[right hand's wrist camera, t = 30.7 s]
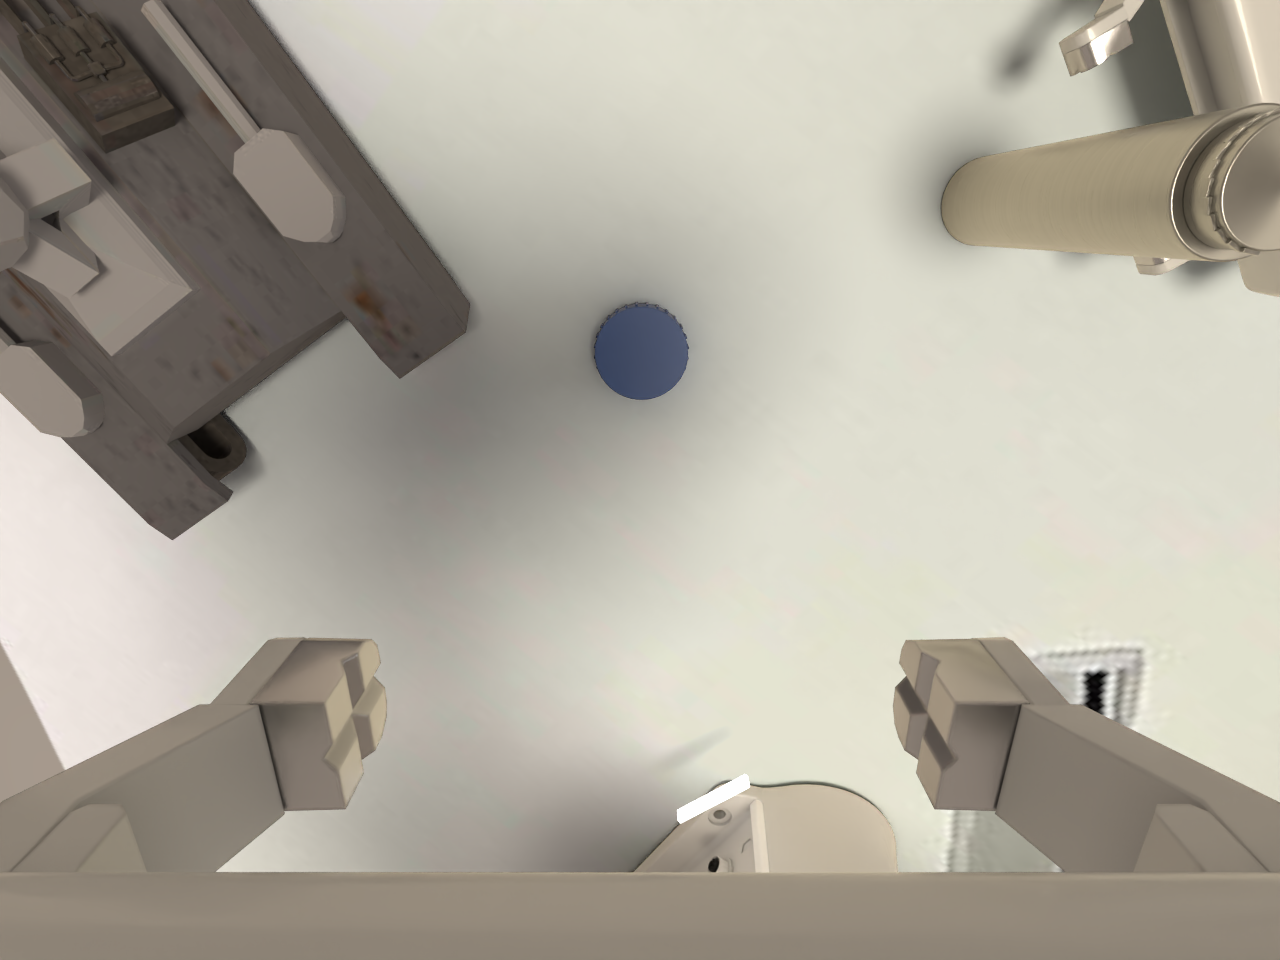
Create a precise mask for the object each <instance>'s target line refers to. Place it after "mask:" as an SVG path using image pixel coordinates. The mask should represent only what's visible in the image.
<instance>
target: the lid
mask: <svg viewBox="0 0 1280 960" xmlns="http://www.w3.org/2000/svg"><path fill="white" fill-rule="evenodd" d="M600 328H601V330H600V333H598V334H597V336H596V338H597V341H596V343H595V345H594V348H595V356H594V359H595V360H596V365H597V369H598V371H599V373H600V375H601V378H602V379H603V380H604V381H605V383H606V384H607V385H608V386H609V387H610V388H611V389H612V390H614V391H615V392H617V393H618V394H620V395H622V396H625V397H628V398H631V399H638V400H645V399H651V398H655V397H658V396H661V395H663V394H665V393H666V392H668V391H669V390H670V389H672V388H673V387H674V386H675V385H676V384H677V382H678V381H679V380H680V379H681V377H682V375H683V373H684V371H685V369H686V364H687V360H688V349H689V347H688V344H687V342H686V339H687V337H686V334H684V333H683V330H682V329H683V328H682V325H681V324H680V325H679V323H678V322H677V320H676V317H675V316H672V315H671V314H670V313H669V312H668V310H667V309H666V310H664V309H662V308H660V307H659V306H658V305H656V306H655V305H652V304H648V302H646V304H645V303H638V302H636V304H631V305H627V304H626V305H625V307H623V308H621V309H619V310H618V309H616V311H615V312H614V313H613V314H612V315H611V316H610V315H609V316H608V317H607V320H606V321H605V323H604V324H603V323H602V325H601V327H600Z"/></svg>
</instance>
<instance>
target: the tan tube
mask: <svg viewBox="0 0 1280 960" xmlns="http://www.w3.org/2000/svg"><path fill="white" fill-rule="evenodd" d="M941 211H942V218H943V222H944V224H945V227H946V228H947V230H948V232H949V233H950V234H951V235H952V236H953V237H954V238H955V239H956V240H958V241H960V242H962V243H964V244H967V245H974V246H988V247H1003V248H1019V249H1034V250H1049V251H1064V252H1079V253H1094V254H1109V255H1124V256H1139V257H1154V258H1169V259H1184V260H1199V261H1214V262H1228V261H1236V260H1240V259H1243V258H1247V257H1249V256H1252V255H1256V256H1258V255H1259V253H1260V252H1261V251H1277V250H1280V104H1278V103H1257V104H1251V105H1246V106H1241V107H1235V108H1230V109H1225V110H1220V111H1215V112H1210V113H1205V114H1200V115H1194V116H1189V117H1184V118H1179V119H1174V120H1169V121H1164V122H1158V123H1153V124H1148V125H1143V126H1138V127H1133V128H1128V129H1123V130H1117V131H1112V132H1107V133H1102V134H1097V135H1092V136H1087V137H1082V138H1076V139H1071V140H1066V141H1061V142H1056V143H1051V144H1046V145H1040V146H1035V147H1030V148H1025V149H1020V150H1015V151H1010V152H1005V153H999V154H994V155H989V156H984V157H980V158H977V159H974V160H972V161H970V162H968V163H967V164H965V165H964V166H963V167H961V168H960V169H959V170H958V171H957V172H956V173H955V174H954V176H953V177H952V178H951V180H950V181H949V183H948V185H947V187H946V189H945V192H944V195H943V199H942V209H941Z"/></svg>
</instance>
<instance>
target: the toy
mask: <svg viewBox="0 0 1280 960" xmlns="http://www.w3.org/2000/svg"><path fill="white" fill-rule="evenodd" d="M469 308H470V303H469V302H468V301H467V299H466V298H465V297H464V295H463V294H462V292H461V291H460V290H459V288H458V287H457V286H456V284H455V282H454V281H453V279H452V278H451V276H450V275H449V274H448V272H447V271H446V270H445V268H444V267H443V266H442V264H441V263H440V261H439V260H438V259H437V257H436V256H435V255H434V253H433V252H432V251H431V249H430V248H429V247H428V245H427V244H426V242H425V241H424V240H423V238H422V237H421V236H420V234H419V233H418V232H417V230H416V229H415V228H414V226H413V225H412V223H411V222H410V221H409V219H408V218H407V217H406V215H405V214H404V213H403V211H402V210H401V209H400V207H399V206H398V204H397V203H396V202H395V200H394V199H393V198H392V196H391V195H390V194H389V192H388V191H387V190H386V188H385V187H384V186H383V184H382V183H381V181H380V180H379V179H378V177H377V176H376V175H375V173H374V172H373V171H372V169H371V168H370V167H369V165H368V164H367V162H366V161H365V160H364V158H363V157H362V156H361V154H360V153H359V152H358V150H357V149H356V148H355V146H354V145H353V143H352V142H351V141H350V139H349V138H348V137H347V135H346V134H345V133H344V131H343V130H342V129H341V127H340V126H339V124H338V123H337V122H336V120H335V119H334V118H333V116H332V115H331V114H330V112H329V111H328V110H327V108H326V107H325V105H324V104H323V103H322V101H321V100H320V99H319V97H318V96H317V95H316V93H315V92H314V91H313V89H312V88H311V86H310V85H309V84H308V82H307V81H306V80H305V78H304V77H303V76H302V74H301V73H300V72H299V70H298V69H297V68H296V66H295V65H294V63H293V62H292V61H291V59H290V58H289V57H288V55H287V54H286V53H285V51H284V50H283V49H282V47H281V46H280V44H279V43H278V42H277V40H276V39H275V38H274V36H273V35H272V34H271V32H270V31H269V30H268V28H267V27H266V25H265V24H264V23H263V21H262V20H261V19H260V17H259V16H258V15H257V13H256V12H255V11H254V9H253V8H252V6H251V5H250V4H249V2H248V1H247V0H0V393H1V394H2V395H3V396H4V397H5V398H6V399H7V400H8V401H9V402H10V403H11V404H12V405H13V406H14V407H15V408H16V409H17V410H18V411H19V412H20V413H21V414H23V415H24V416H25V417H26V418H27V419H28V420H29V421H30V422H31V423H32V424H33V425H34V426H35V427H36V428H37V429H38V430H39V431H40V432H42V433H46V434H50V435H54V436H58V437H61V438H62V439H63V440H64V441H65V442H66V443H67V444H68V445H69V446H70V447H71V448H72V449H73V450H74V451H75V452H76V453H77V454H78V455H79V456H80V457H81V458H82V459H83V460H84V461H85V462H86V463H87V464H88V465H89V466H90V467H91V468H92V469H93V470H94V471H95V472H96V473H97V474H98V475H99V476H100V477H101V478H102V479H103V480H104V481H105V482H106V483H107V484H108V485H110V486H111V487H112V488H113V489H114V490H115V491H116V492H117V493H118V494H119V495H120V496H121V497H122V498H123V499H124V500H125V501H126V502H127V503H128V504H129V505H130V506H131V507H132V508H133V509H134V510H135V511H136V512H137V513H138V514H139V515H140V516H141V517H142V518H143V519H144V520H145V521H146V522H147V523H148V524H149V525H151V526H152V527H154V528H155V529H156V530H158V531H159V532H161V533H162V534H164V535H165V536H167V537H168V538H170V539H171V540H174V539H175V538H176V537H178V536H179V535H181V534H182V533H183V532H185V531H186V530H188V529H189V528H190V527H192V526H193V525H195V524H196V523H198V522H199V521H200V520H202V519H203V518H205V517H206V516H207V515H209V514H210V513H212V512H213V511H215V510H216V509H217V508H219V507H220V506H222V505H223V504H224V503H226V502H227V501H228V500H229V498H230V497H231V495H232V493H233V491H231V490H230V489H229V488H227V487H226V486H225V485H223V484H222V483H221V482H219V480H221V479H222V478H223V477H225V476H226V475H228V474H229V473H230V472H232V471H233V470H234V469H236V468H237V467H238V466H239V465H240V464H242V463H243V461H244V459H245V457H246V446H245V443H244V440H243V439H242V437H241V436H240V435H239V433H238V432H237V431H236V430H235V429H234V428H233V427H232V426H231V425H230V424H229V423H228V421H227V420H226V419H225V418H224V417H223V416H222V415H221V414H220V412H221V411H223V410H224V409H225V408H227V407H228V406H229V405H231V404H232V403H233V402H235V401H236V400H237V399H239V398H240V397H241V396H243V395H244V394H245V393H247V392H248V391H249V390H250V389H252V388H253V387H254V386H256V385H257V384H258V383H260V382H261V381H262V380H264V379H265V378H266V377H268V376H269V375H270V374H272V373H273V372H274V371H276V370H277V369H278V368H279V367H281V366H282V365H283V364H285V363H286V362H287V361H289V360H290V359H291V358H293V357H294V356H295V355H297V354H298V353H299V352H301V351H302V350H303V349H305V348H306V347H307V346H309V345H310V344H311V343H312V342H314V341H315V340H316V339H318V338H319V337H320V336H322V335H323V334H324V333H326V332H327V331H328V330H330V329H331V328H332V327H334V326H335V325H336V324H338V323H339V322H340V321H341V320H343V319H344V318H345V317H347V318H348V320H349V321H350V322H351V323H352V325H353V326H354V327H355V328H356V330H357V331H358V332H359V333H360V335H361V336H362V337H363V338H364V340H365V341H366V342H367V343H368V344H369V346H370V347H371V348H372V349H373V351H374V352H375V353H376V354H377V356H378V357H379V358H380V359H381V360H382V361H383V362H384V363H385V364H386V365H387V366H388V367H389V368H390V369H391V370H392V371H393V372H394V373H395V374H396V375H397V376H398V377H399V378H402V377H403V376H404V375H406V374H407V373H409V372H410V371H412V370H413V369H414V368H416V367H417V366H419V365H420V364H421V363H423V362H424V361H426V360H427V359H428V358H430V357H431V356H433V355H434V354H436V353H437V352H438V351H440V350H441V349H443V348H444V347H445V346H447V345H448V344H450V343H451V342H453V341H454V340H455V339H457V338H458V337H460V336H461V335H462V334H464V333H465V332H466V327H467V321H468V314H469Z"/></svg>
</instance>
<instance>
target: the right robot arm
mask: <svg viewBox="0 0 1280 960" xmlns="http://www.w3.org/2000/svg"><path fill="white" fill-rule="evenodd" d="M380 664H381V661H380V656H379V651H378V646H377V644H376V643H375V642H374V641H373V640H372V639H343V638H274V639H271V640H268V641H267V642H266V643H265V644H264V645H263V646H262V647H261V648H260V650H259V651H258V652H257V653H256V654H255V655H254V656H253V657H252V658H251V660H250V661H249V662H248V663H247V664H246V665H245V666H244V667H243V668H242V669H241V671H240V672H239V673H238V674H237V675H236V676H235V677H234V678H233V679H232V681H231V682H230V683H229V684H228V685H227V686H226V687H225V688H224V689H223V691H222V692H221V693H220V694H219V695H218V696H217V697H216V698H215V699H214V700H213V702H212V703H211V704H208V705H197V706H195V707H193V708H191V709H189V710H187V711H185V712H183V713H181V714H179V715H177V716H175V717H173V718H171V719H169V720H167V721H165V722H163V723H161V724H159V725H156V726H154V727H152V728H150V729H148V730H146V731H144V732H142V733H140V734H138V735H136V736H134V737H132V738H130V739H128V740H126V741H124V742H122V743H120V744H118V745H116V746H114V747H112V748H110V749H108V750H106V751H104V752H102V753H100V754H97V755H95V756H93V757H91V758H89V759H87V760H85V761H83V762H81V763H79V764H77V765H75V766H73V767H71V768H69V769H67V770H65V771H63V772H61V773H59V774H57V775H55V776H53V777H51V778H49V779H47V780H45V781H43V782H40V783H38V784H36V785H34V786H32V787H30V788H28V789H26V790H24V791H22V792H20V793H18V794H16V795H14V796H12V797H10V798H8V799H6V800H4V801H2V802H1V803H0V960H1280V803H1279V802H1278V801H1276V800H1274V799H1272V798H1270V797H1268V796H1265V795H1263V794H1261V793H1259V792H1257V791H1255V790H1253V789H1251V788H1249V787H1247V786H1245V785H1243V784H1241V783H1239V782H1237V781H1235V780H1233V779H1231V778H1229V777H1227V776H1225V775H1223V774H1221V773H1219V772H1217V771H1215V770H1213V769H1211V768H1209V767H1207V766H1205V765H1203V764H1201V763H1198V762H1196V761H1194V760H1192V759H1190V758H1188V757H1186V756H1184V755H1182V754H1180V753H1178V752H1176V751H1174V750H1172V749H1170V748H1168V747H1166V746H1164V745H1162V744H1160V743H1158V742H1156V741H1154V740H1152V739H1150V738H1148V737H1146V736H1144V735H1142V734H1140V733H1138V732H1136V731H1134V730H1132V729H1129V728H1127V727H1125V726H1123V725H1121V724H1119V723H1117V722H1115V721H1113V720H1111V719H1109V718H1107V717H1105V716H1103V715H1101V714H1099V713H1097V712H1095V711H1093V710H1091V709H1089V708H1087V707H1085V706H1083V705H1072V704H1069V703H1068V702H1067V700H1066V699H1065V698H1064V697H1063V696H1062V695H1061V694H1060V693H1059V692H1058V691H1057V689H1056V688H1055V687H1054V686H1053V685H1052V684H1051V683H1050V682H1049V681H1048V679H1047V678H1046V677H1045V676H1044V675H1043V674H1042V673H1041V672H1040V671H1039V669H1038V668H1037V667H1036V666H1035V665H1034V664H1033V663H1032V662H1031V661H1030V659H1029V658H1028V657H1027V656H1026V655H1025V654H1024V653H1023V652H1022V651H1021V650H1020V648H1019V647H1018V646H1017V645H1016V644H1015V643H1014V642H1013V641H1012V640H1010V639H1007V638H1005V637H995V638H972V639H935V640H906V641H905V643H904V645H903V647H902V650H901V655H900V661H899V664H900V665H901V667H902V669H903V670H904V672H905V674H906V677H905V678H904V679H903V680H902V681H901V682H900V683H899V684H898V685H897V686H896V687H895V693H894V701H893V712H894V723H895V727H896V730H897V734H898V737H899V740H900V742H901V744H902V746H903V748H904V750H905V751H906V752H908V753H909V754H911V755H912V756H914V757H915V758H916V759H918V765H917V771H916V774H917V776H918V778H919V780H920V782H921V784H922V786H923V788H924V789H925V791H926V793H927V795H928V797H929V799H930V801H931V803H932V805H933V807H934V809H945V810H981V811H996V812H995V814H996V815H997V816H999V817H1000V818H1001V819H1002V820H1003V821H1005V822H1006V823H1007V824H1008V825H1009V826H1011V827H1012V828H1013V829H1014V830H1015V831H1017V832H1018V833H1019V834H1020V835H1021V836H1023V837H1024V838H1025V839H1026V840H1027V841H1029V842H1030V843H1031V844H1032V845H1033V846H1035V847H1036V848H1037V849H1038V850H1039V851H1041V852H1042V853H1043V854H1044V855H1045V856H1047V857H1048V858H1049V859H1050V860H1051V861H1053V862H1054V863H1055V864H1056V865H1057V866H1059V867H1060V868H1061V869H1062V870H1063V871H1065V872H898V868H897V857H896V841H895V836H894V833H893V831H892V828H891V826H890V824H889V823H888V821H887V819H886V818H885V817H884V816H883V814H882V813H881V812H880V811H879V810H878V809H877V808H876V807H875V806H873V805H872V804H871V803H869V802H868V801H866V800H865V799H863V798H861V797H859V796H857V795H855V794H853V793H851V792H848V791H845V790H842V789H839V788H834V787H830V786H824V785H812V784H799V785H788V786H780V787H771V788H761V787H756V786H751V785H749V780H748V777H747V775H746V774H745V775H743V776H741V777H739V778H737V779H735V780H733V781H731V782H729V783H724V784H721V785H719V786H717V787H716V788H714V789H713V790H712V791H711V792H710V793H709V794H707V795H705V796H703V797H701V798H699V799H697V800H695V801H693V802H692V803H690V804H688V805H686V806H684V807H682V808H680V809H678V810H677V814H678V821H679V822H680V824H679V825H678V826H677V827H676V829H675V830H674V831H673V832H672V833H671V834H670V835H669V836H668V837H667V838H666V839H665V840H664V841H663V842H662V843H661V844H660V845H659V846H658V847H657V848H656V849H655V850H654V851H653V852H652V853H651V854H650V855H649V856H648V857H647V858H646V860H645V861H644V862H643V863H642V864H641V865H640V866H639V867H638V868H637V869H636V870H635V871H634V872H216V871H217V870H218V869H219V868H220V867H222V866H223V865H224V864H225V863H226V862H228V861H229V860H230V859H231V858H232V857H234V856H235V855H236V854H237V853H238V852H240V851H241V850H242V849H243V848H244V847H246V846H247V845H248V844H249V843H250V842H252V841H253V840H254V839H255V838H257V837H258V836H259V835H260V834H261V833H263V832H264V831H265V830H266V829H267V828H269V827H270V826H271V825H272V824H273V823H275V822H276V821H277V820H278V819H279V818H281V817H282V816H283V815H284V814H285V813H284V811H298V810H333V809H346V807H347V805H348V803H349V801H350V799H351V797H352V795H353V793H354V792H355V790H356V788H357V786H358V784H359V782H360V780H361V778H362V776H363V774H364V771H363V765H362V759H364V758H365V757H366V756H368V755H369V754H371V753H372V752H374V751H375V750H376V748H377V746H378V744H379V741H380V739H381V737H382V735H383V730H384V726H385V721H386V717H387V699H386V692H385V687H384V686H383V685H382V684H381V683H380V682H379V681H378V680H377V679H376V678H375V677H374V674H375V672H376V670H377V669H378V667H379V665H380ZM717 810H720V811H717Z"/></svg>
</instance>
